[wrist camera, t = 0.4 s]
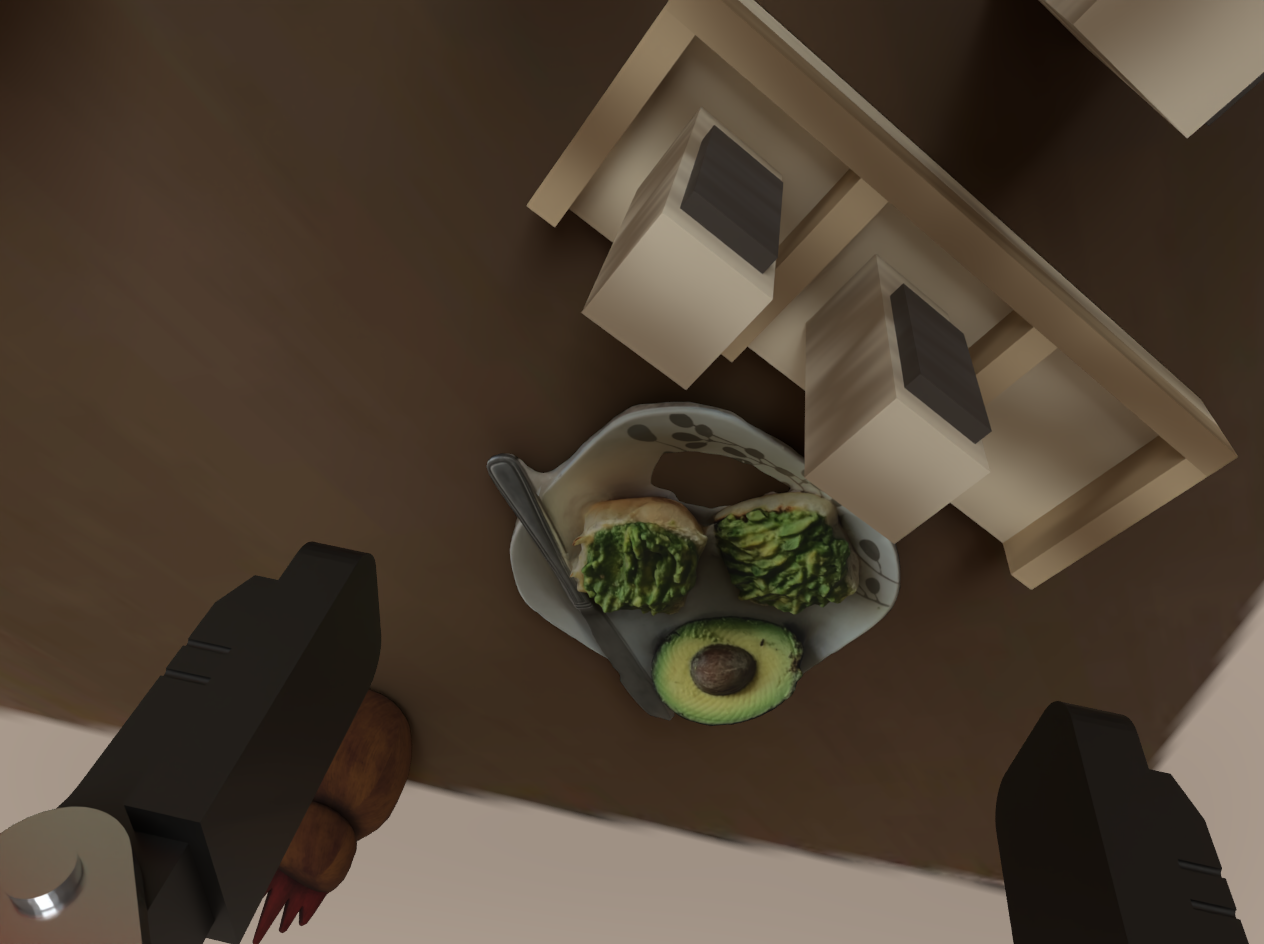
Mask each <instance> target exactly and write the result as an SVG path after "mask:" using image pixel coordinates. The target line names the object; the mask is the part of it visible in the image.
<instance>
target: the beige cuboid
mask: <svg viewBox="0 0 1264 944" xmlns="http://www.w3.org/2000/svg"><path fill="white" fill-rule="evenodd" d="M1038 1H1039V2H1040V3H1041V4H1043V5H1044V6H1045V7H1046V8H1047V9H1048V10H1049V11H1050V12H1051V13H1052V14H1053V15H1054V16H1055V17H1056V18H1057V19H1058V20H1059V21H1060V22H1061V23H1062V24H1063V25H1064V26H1065V27H1066V28H1067V29H1068V30H1069V31H1070V32H1071V33H1072V34H1073V35H1074V36H1075V37H1076V38H1077V39H1078V40H1079V41H1080V42H1081V43H1082V44H1083V45H1084V46H1085V47H1086V48H1087V49H1088V50H1089V51H1090V52H1091V53H1092V54H1094V55H1095V56H1096V57H1097V58H1098V59H1099V60H1100V61H1101V62H1102V63H1104V64H1105V65H1106V66H1107V67H1108V68H1109V69H1110V70H1111V71H1113V72H1114V73H1115V74H1116V75H1117V76H1118V77H1119V78H1120V79H1121V80H1123V81H1124V82H1125V83H1126V84H1127V85H1128V86H1129V87H1130V88H1131V89H1133V90H1134V91H1135V92H1136V93H1137V94H1138V95H1139V96H1140V97H1142V98H1143V99H1144V100H1145V101H1146V102H1147V103H1148V104H1149V105H1150V106H1152V107H1153V108H1154V109H1155V110H1156V111H1157V112H1158V113H1159V114H1160V115H1162V116H1163V117H1164V118H1165V119H1166V120H1167V121H1168V122H1169V123H1171V124H1172V125H1173V126H1174V127H1175V128H1176V129H1177V130H1178V131H1179V132H1181V133H1182V134H1183V135H1184V136H1185V137H1186V138H1188V137H1189V136H1191V135H1192V134H1193V133H1194V132H1195V131H1196V130H1198V129H1199V128H1200V127H1201V126H1202V125H1203V124H1204V123H1205V124H1207V125H1208V126H1209V125H1210V124H1211V123H1213V122H1214V121H1215V120H1216V119H1217V118H1218V117H1220V116H1221V115H1222V114H1223V113H1224V112H1225V111H1227V110H1228V109H1229V108H1230V107H1231V106H1232V105H1233V104H1235V103H1236V102H1237V101H1238V100H1239V99H1240V98H1242V97H1243V96H1244V95H1245V94H1246V93H1247V92H1249V91H1250V90H1251V89H1252V88H1253V87H1254V86H1255V85H1257V84H1258V83H1259V82H1260V81H1261V80H1262V79H1264V0H1038Z"/></svg>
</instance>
